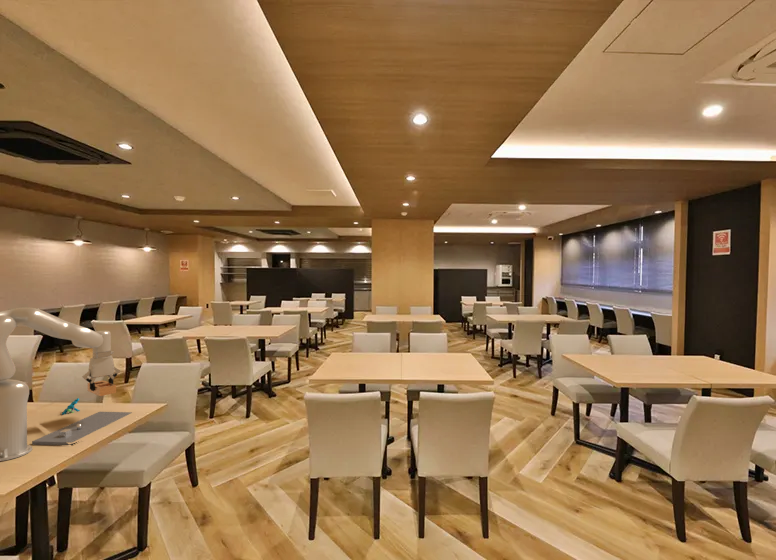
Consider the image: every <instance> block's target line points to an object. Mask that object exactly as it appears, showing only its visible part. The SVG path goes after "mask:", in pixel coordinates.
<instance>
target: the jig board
mask: <svg viewBox="0 0 776 560" xmlns="http://www.w3.org/2000/svg"><path fill="white" fill-rule="evenodd" d="M133 413H134V412H131V411H129V412H126V411H97V412H95V413H93V414H91V415H89V416H86V417H84V418H82V419H80V420H77V421H75V422H73V423H70V424H68V425H66V426H64V427H61V428H58V429H57V430H54V431H52V432H50V433H48V434H46V435H45V434H44V435H43V436H41V437H39V438H37V439H34V440H32V442H31V446H32V445H35V446H37V445H38V446H39V445H40V446H62V445H73V444H75V443H77V442H78V440H81V439H82V438H85V437H86V436H88V435H90V434H92V433H94V432H96V431H98V430H101V429H102V428H104V427H107V426H108V425H110V424H113V423H114V422H117V421H119V420H120V419H123V418H125V417H126V416H128V415H130V414H133ZM77 444H78V443H77ZM75 445H76V444H75ZM73 446H74V445H73Z"/></svg>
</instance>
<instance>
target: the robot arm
mask: <svg viewBox="0 0 776 560" xmlns="http://www.w3.org/2000/svg"><path fill="white" fill-rule="evenodd" d="M17 327H27V328H29V329H31V330H33V331H37V332H39V333H42V334H45V335H47V336H50V337H52V338H57V339H62V340H68V341H71V343H72V345H74V346H75V347H78V348H83V349H84V348H85V349H92V357H91V358H90V360H89V364H88V371H87V372H86V373H85V374H83V375H82V376H81V377H82V379H84V380H85V381H86V382H88V383H90V389H91V390H92V391H94V390H95V383H94V382H96V379H97V378H103V377H107V376H108V377H109V378H108V381H107V382H109V383H112V384H114V379H115V378H116V377H117V375H118V374H119V373H120V372H121V369H119V368H117V367H115V364H114V363H115V362H114V357H113V355H112V354H115V351H114V350H112V346H111V345H112V333H111V331H110V330H97V331H95V330H92V329H90V328H88V327H85V326H81V325H78V324H76V323H74V322H70V321H67V320H64V319H62V318H60V317H59V316H56V315H53V314H51V313H49V312H47V311H44V310H42V309H39V308H35V307H16V308H11V309H6V310H1V311H0V462H3V461H5V462H6V461H9V460H14V459H16V458H19V457H22V456H24V455H27V454H29V453H30V452H32V450H33V446H32V444H31V445H30V444H28V402H29V401H28V400H29V395H30V387H29V385H28V384H27V383H25V382H24V381H21V380H18V379H11V378H12V377H13V376H15V374H16V369H17V368H16V365H15V363H14V360H13V358H12V356H11V354H10V352H9V350H8V347H7V340H8V338H9V337H10V335H11V334H12V333H13V332H14V330H15V329H16V328H17ZM88 377H89V378H88Z"/></svg>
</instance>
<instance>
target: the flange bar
mask: <svg viewBox="0 0 776 560" xmlns="http://www.w3.org/2000/svg"><path fill="white" fill-rule="evenodd" d="M94 383H95V390H94V391H92V390H91V389H90V383H89V382H88V383H87V392H89V393H92V394H94V395H96V396H98V397H104V396H108V395H113V394H116V393H117V385H116V384H114V383H113V384H112V383H109V382H108V381H106V380H104V379H101V380H98V381H94Z"/></svg>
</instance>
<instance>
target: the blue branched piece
mask: <svg viewBox="0 0 776 560" xmlns="http://www.w3.org/2000/svg"><path fill="white" fill-rule="evenodd" d="M79 401H80V398H79V397H78V398H76V399H74V400H73V401H72V402H71V403H70V404H69V405H68V406H67V408H65V409H64V410H63V412H62V413H61V415H62V416H64V415H66V414H67V413H69V414H74V413H75V412H74V411H76V412H80V410H79V409H78V408H76V405H77V404H78V402H79Z"/></svg>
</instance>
